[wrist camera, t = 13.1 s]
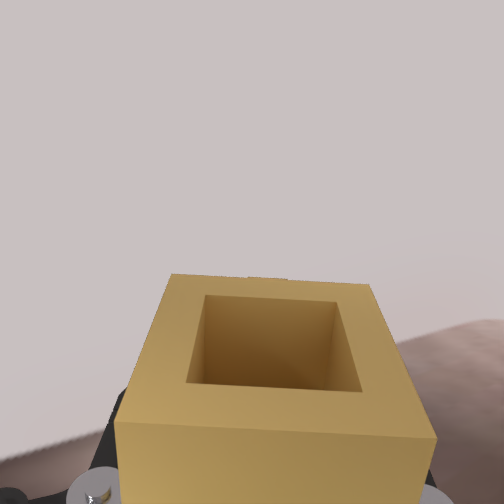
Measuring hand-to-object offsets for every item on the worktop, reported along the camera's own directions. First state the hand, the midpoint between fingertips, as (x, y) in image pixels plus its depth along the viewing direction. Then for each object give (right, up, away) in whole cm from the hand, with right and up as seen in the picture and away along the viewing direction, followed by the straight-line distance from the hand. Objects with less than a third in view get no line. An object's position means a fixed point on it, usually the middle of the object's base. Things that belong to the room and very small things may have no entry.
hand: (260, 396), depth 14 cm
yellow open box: (0, -7, 0) cm, 7 cm away
